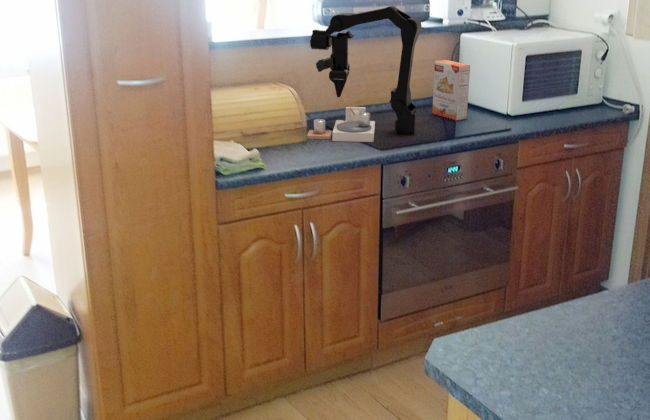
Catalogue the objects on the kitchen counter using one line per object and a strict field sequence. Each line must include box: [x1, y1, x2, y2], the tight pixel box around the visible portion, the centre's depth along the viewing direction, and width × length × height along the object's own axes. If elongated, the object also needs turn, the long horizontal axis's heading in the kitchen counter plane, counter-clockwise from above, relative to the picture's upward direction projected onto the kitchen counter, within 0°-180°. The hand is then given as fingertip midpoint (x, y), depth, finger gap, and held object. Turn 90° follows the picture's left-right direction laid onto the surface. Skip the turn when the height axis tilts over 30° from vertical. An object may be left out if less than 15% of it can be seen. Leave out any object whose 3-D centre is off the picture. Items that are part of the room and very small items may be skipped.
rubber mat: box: [306, 129, 333, 140], centre depth 259 cm, size 8×8×1 cm
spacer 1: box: [313, 118, 326, 135], centre depth 258 cm, size 4×4×4 cm
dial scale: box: [331, 106, 376, 143], centre depth 259 cm, size 14×18×8 cm
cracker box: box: [431, 59, 471, 122], centre depth 282 cm, size 14×6×21 cm, turn 32°
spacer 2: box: [358, 112, 371, 128], centre depth 256 cm, size 4×4×4 cm
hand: (339, 94), depth 267 cm, fingers open, 9 cm apart
